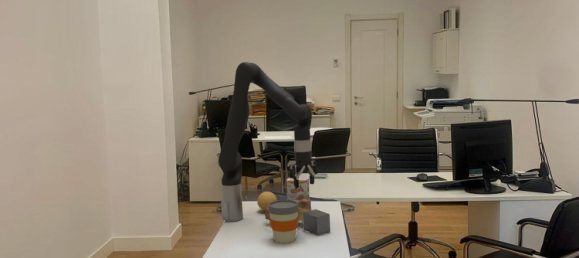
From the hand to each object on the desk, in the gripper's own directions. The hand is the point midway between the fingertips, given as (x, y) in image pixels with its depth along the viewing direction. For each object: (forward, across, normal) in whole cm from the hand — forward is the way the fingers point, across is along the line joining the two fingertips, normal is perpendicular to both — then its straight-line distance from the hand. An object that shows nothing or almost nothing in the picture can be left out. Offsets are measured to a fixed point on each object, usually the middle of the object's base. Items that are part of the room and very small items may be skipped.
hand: (304, 185), depth 207 cm
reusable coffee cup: (+19, +17, +7) cm, 26 cm away
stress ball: (+18, 0, -30) cm, 36 cm away
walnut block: (+18, 0, -12) cm, 22 cm away
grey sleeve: (+18, +1, +9) cm, 20 cm away
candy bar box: (+18, -11, -19) cm, 29 cm away
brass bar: (+15, +1, +2) cm, 16 cm away
